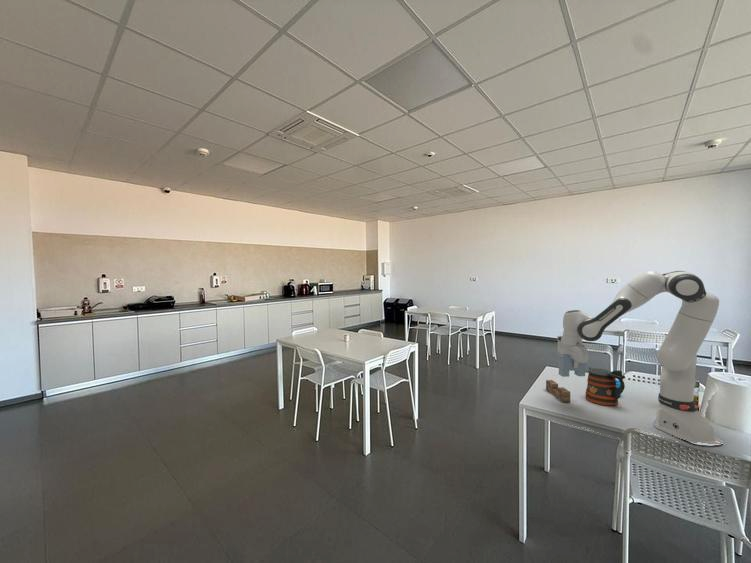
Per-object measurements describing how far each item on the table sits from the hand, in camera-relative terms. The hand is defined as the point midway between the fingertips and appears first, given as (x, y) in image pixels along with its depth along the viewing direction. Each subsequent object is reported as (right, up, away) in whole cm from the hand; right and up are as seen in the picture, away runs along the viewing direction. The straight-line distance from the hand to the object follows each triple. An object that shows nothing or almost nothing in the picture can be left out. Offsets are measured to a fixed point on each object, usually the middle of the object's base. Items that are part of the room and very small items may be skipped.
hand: (571, 365), depth 164 cm
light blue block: (0, -5, 0) cm, 5 cm away
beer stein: (+21, -21, +4) cm, 30 cm away
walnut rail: (0, -21, +13) cm, 25 cm away
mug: (+33, -21, +14) cm, 41 cm away
